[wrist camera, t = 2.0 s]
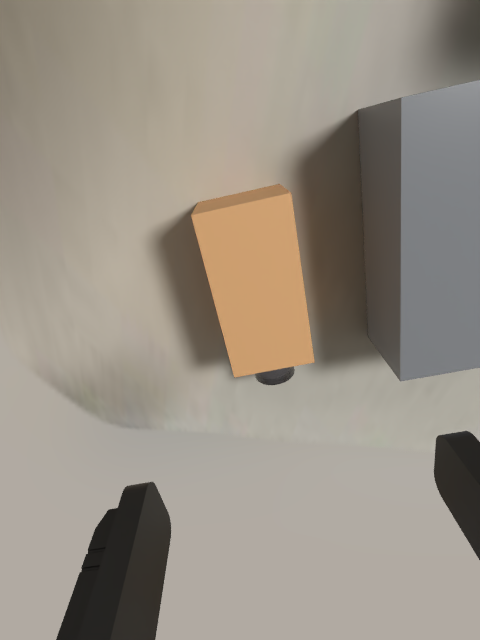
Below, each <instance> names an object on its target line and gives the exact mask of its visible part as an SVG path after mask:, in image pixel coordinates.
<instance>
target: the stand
mask: <svg viewBox="0 0 480 640" xmlns="http://www.w3.org/2000/svg"><path fill="white" fill-rule="evenodd" d="M358 120H359V143H360V166H361V188H362V211H363V234H364V257H365V280H366V303H367V326H368V337H369V339H370V340H371V341H372V343H373V344H374V346H375V347H376V348H377V350H378V351H379V352H380V354H381V355H382V357H383V358H384V359H385V361H386V362H387V364H388V365H389V366H390V368H391V369H392V371H393V372H394V373H395V375H396V376H397V377H398V379H399V380H400V381H405V380H411V379H417V378H422V377H428V376H434V375H440V374H445V373H451V372H457V371H463V370H468V369H474V368H480V80H477V81H472V82H468V83H464V84H459V85H455V86H450V87H446V88H442V89H437V90H433V91H429V92H424V93H420V94H415V95H411V96H407V97H402V98H398V99H395V100H391V101H388V102H384V103H381V104H377V105H373V106H370V107H366V108H363V109H359V110H358Z"/></svg>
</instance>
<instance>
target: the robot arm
mask: <svg viewBox="0 0 480 640" xmlns="http://www.w3.org/2000/svg"><path fill="white" fill-rule="evenodd" d="M434 477H435V481H436V485H437V488H438V490H439V493H440V495H441V497H442V498H443V500H444V502H445V503H446V505H447V507H448V508H449V510H450V512H451V513H452V515H453V517H454V518H455V520H456V522H457V523H458V525H459V526H460V528H461V530H462V532H463V533H464V535H465V537H466V538H467V540H468V541H469V543H470V545H471V546H472V548H473V550H474V551H475V553H476V555H477V556H478V558H479V560H480V442H479V441H478V440H477V439H476V437H475V436H474V435H473V434H472V433H470V432H468V431H463V432H457V433H451V434H445V435H439V436H437V438H436V449H435V466H434ZM170 538H171V523H170V517H169V514H168V512H167V509H166V507H165V505H164V503H163V500H162V498H161V496H160V494H159V492H158V490H157V487H156V486H155V484H154V483H153V482H149V483H142V484H136V485H131V486H127V487H125V489H124V491H123V493H122V496H121V500H120V503H119V506H118V508H116V509H110V510H108V511H107V513H106V514H105V516H104V517H103V519H102V520H101V521H100V523H99V524H98V526H97V527H96V529H95V532H94V534H93V537H92V540H91V542H90V545H89V548H88V554H86V557H85V560H84V562H83V565H82V572H80V574H79V577H78V580H77V582H76V585H75V588H74V591H73V594H72V597H71V599H70V602H69V605H68V608H67V611H66V613H65V616H64V619H63V622H62V625H61V628H60V630H59V633H58V636H57V639H56V640H155V637H156V630H157V624H158V617H159V611H160V604H161V597H162V591H163V584H164V578H165V571H166V565H167V558H168V551H169V545H170Z"/></svg>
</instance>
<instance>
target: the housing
mask: <svg viewBox="0 0 480 640" xmlns="http://www.w3.org/2000/svg"><path fill="white" fill-rule="evenodd" d="M191 217H192V221H193V224H194V228H195V232H196V236H197V239H198V243H199V247H200V251H201V254H202V258H203V262H204V266H205V269H206V273H207V277H208V281H209V284H210V288H211V292H212V296H213V299H214V303H215V307H216V311H217V314H218V318H219V322H220V326H221V329H222V333H223V337H224V341H225V344H226V348H227V352H228V355H229V359H230V363H231V367H232V370H233V374H234V378H235V377H240V376H245V375H251V374H255V376H256V379H257V380H258V381H259V382H260V383H262V384H266V385H277V384H281V383H284V382H286V381H287V380H289V379H290V378H291V377H292V376H293V374H294V366H298V365H303V364H308V363H314V355H313V348H312V340H311V333H310V326H309V319H308V311H307V304H306V297H305V290H304V283H303V275H302V268H301V261H300V254H299V246H298V239H297V232H296V225H295V217H294V210H293V203H292V196H291V192H289V191H288V190H287V189H285V188H284V187H283V186H282V185H280V184H277V185H273V186H268V187H264V188H260V189H255V190H251V191H246V192H242V193H238V194H233V195H229V196H224V197H220V198H216V199H211V200H207V201H202V202H198V204H197V205H196V207H195V209H194V211H193V213H192V214H191Z"/></svg>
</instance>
